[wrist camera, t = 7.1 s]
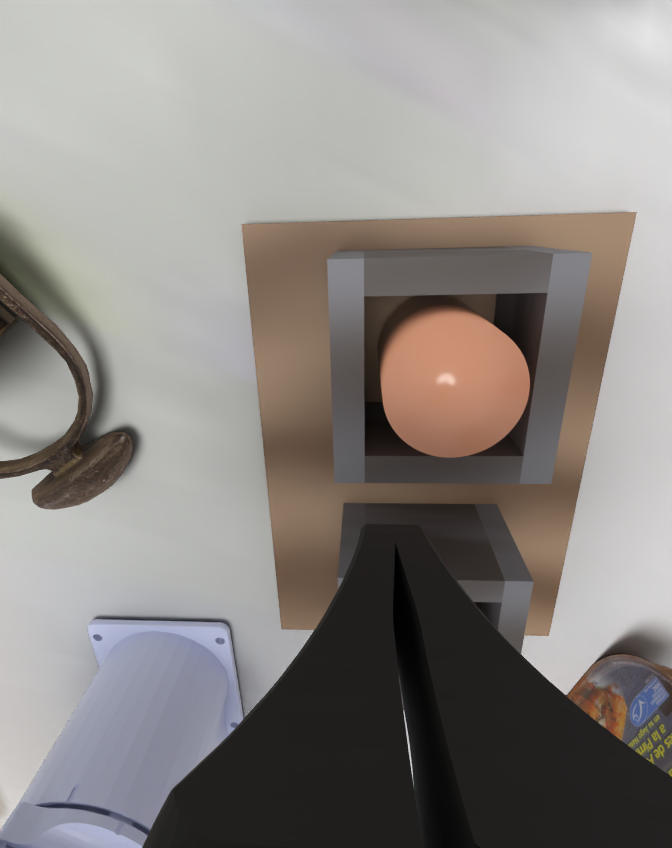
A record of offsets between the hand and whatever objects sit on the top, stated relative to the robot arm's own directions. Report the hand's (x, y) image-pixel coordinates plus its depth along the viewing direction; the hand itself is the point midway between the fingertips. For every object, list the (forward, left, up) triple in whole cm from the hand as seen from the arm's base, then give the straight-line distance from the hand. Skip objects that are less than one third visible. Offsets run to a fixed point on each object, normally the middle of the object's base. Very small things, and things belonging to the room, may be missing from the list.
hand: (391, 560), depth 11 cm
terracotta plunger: (+3, -2, -9) cm, 9 cm away
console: (-3, -2, -10) cm, 11 cm away
